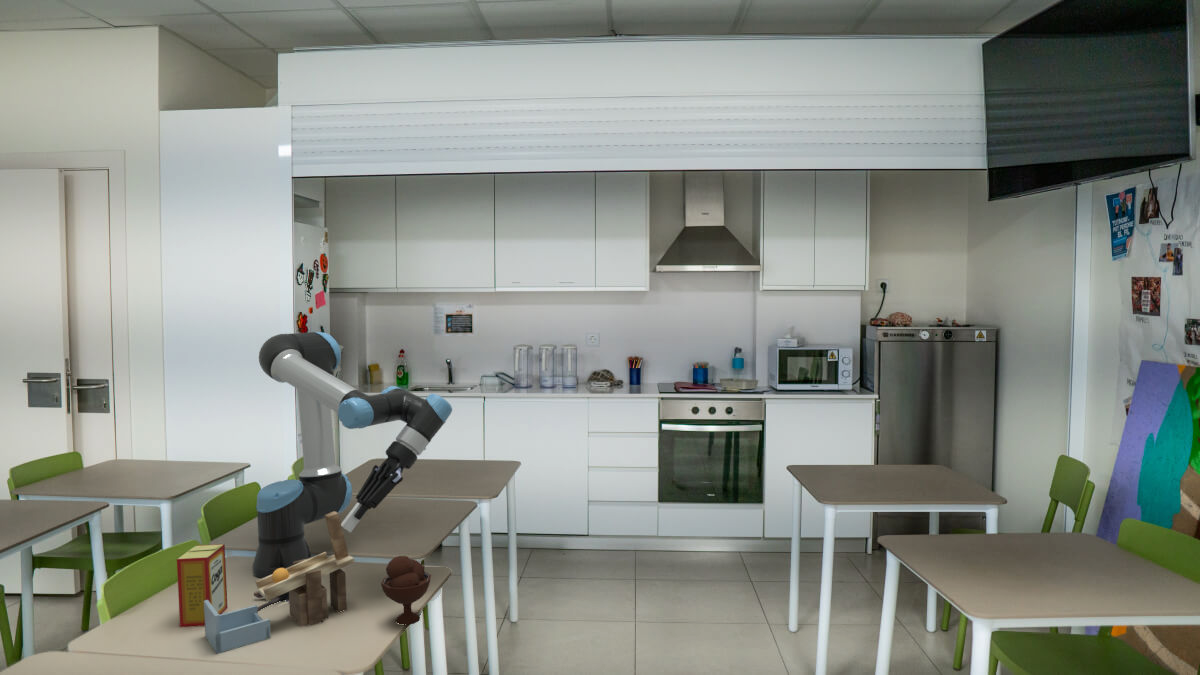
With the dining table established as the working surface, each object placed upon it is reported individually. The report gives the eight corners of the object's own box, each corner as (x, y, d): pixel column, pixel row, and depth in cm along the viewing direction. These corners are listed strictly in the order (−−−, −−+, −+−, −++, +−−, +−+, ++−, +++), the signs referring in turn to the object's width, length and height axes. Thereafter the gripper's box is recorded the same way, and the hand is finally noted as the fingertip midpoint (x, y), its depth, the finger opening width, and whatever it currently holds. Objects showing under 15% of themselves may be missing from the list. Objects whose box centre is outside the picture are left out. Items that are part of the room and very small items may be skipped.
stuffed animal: (310, 581, 187) (301, 569, 177) (306, 621, 182) (297, 611, 172) (261, 585, 185) (250, 572, 175) (256, 625, 180) (244, 615, 170)
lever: (343, 554, 176) (332, 508, 174) (354, 561, 171) (343, 514, 169) (258, 591, 164) (245, 542, 162) (267, 601, 158) (253, 550, 156)
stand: (335, 600, 177) (333, 552, 176) (350, 613, 169) (349, 563, 168) (288, 613, 170) (286, 563, 169) (302, 628, 162) (300, 575, 161)
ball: (268, 583, 163) (269, 568, 163) (281, 580, 166) (283, 565, 166) (278, 587, 161) (279, 571, 161) (291, 583, 164) (292, 568, 164)
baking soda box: (210, 625, 164) (206, 556, 164) (180, 627, 164) (176, 557, 163) (227, 607, 174) (224, 542, 173) (199, 609, 173) (195, 543, 172)
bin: (257, 622, 166) (255, 587, 165) (270, 637, 157) (269, 601, 157) (205, 636, 159) (203, 600, 158) (216, 653, 151) (215, 616, 150)
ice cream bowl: (420, 632, 159) (417, 564, 158) (373, 628, 161) (371, 562, 160) (440, 611, 169) (438, 548, 168) (396, 608, 171) (394, 546, 171)
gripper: (428, 460, 180) (367, 543, 170) (405, 453, 189) (346, 531, 179) (407, 443, 176) (344, 526, 166) (385, 436, 186) (323, 515, 176)
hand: (345, 528), depth 173 cm, fingers closed
